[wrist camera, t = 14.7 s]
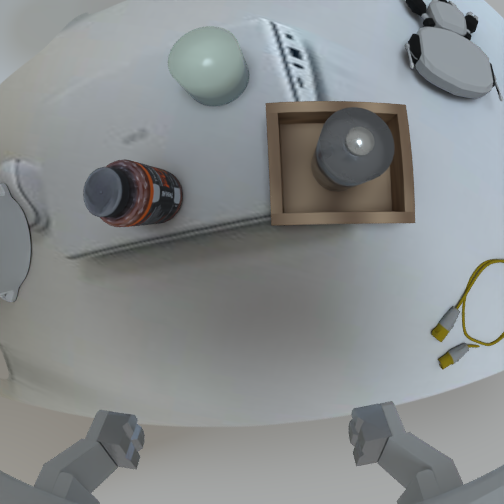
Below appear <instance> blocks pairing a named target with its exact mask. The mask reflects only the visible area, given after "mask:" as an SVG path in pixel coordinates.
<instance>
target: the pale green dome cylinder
mask: <svg viewBox="0 0 504 504" xmlns="http://www.w3.org/2000/svg"><path fill="white" fill-rule="evenodd" d="M168 68H169V71H170V73H171V75H172V76H173V78H174V79H175V80H176V81H177V82H178V83H179V84H180V85H181V86H182V87H183V88H184V89H185V90H186V91H187V92H188V93H189V94H190V95H191V96H192V97H193V98H194V99H195V100H196V101H198V102H199V103H201V104H204V105H208V106H220V105H224V104H227V103H230V102H232V101H233V100H235V99H236V98H238V97H239V96H240V95H241V94H242V93H243V91H244V90H245V88H246V86H247V84H248V80H249V71H248V68H247V65H246V62H245V60H244V57H243V54H242V51H241V49H240V46H239V44H238V41H237V39H236V38H235V36H234V35H233V34H232V33H230V32H229V31H227V30H225V29H223V28H219V27H202V28H198V29H195V30H192V31H190V32H188V33H187V34H185V35H184V36H182V37H181V38H180V39H179V40H178V41H177V42H176V43H175V45H174V46H173V47H172V49H171V51H170V54H169V57H168Z"/></svg>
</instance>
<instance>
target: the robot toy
mask: <svg viewBox="0 0 504 504" xmlns="http://www.w3.org/2000/svg"><path fill="white" fill-rule="evenodd" d="M406 3H407V5H408V6H409V7H410V9H411V10H412V12H414V13H416V14H418V15H420V16H421V17H422V18H423V20H424V21H423V25H424V26H425V27H423V28H420V29H419V31H418V32H417V34H413V35H412V36H411V38H410V40H409V41H408V43H406V44H405V49H406V50H407V52H408V56H409V61H410V68H412V69H413V67H414V64H415V67H416V69H417V71H418V72H419V74H421V75H422V76H423V77H424V78H425V79H426V80H427V81H429V82H430V83H432V84H434V85H436V86H437V87H439V88H441V89H443V90H445V91H447V92H449V93H451V94H453V95H457V96H462V97H467V98H480V97H482V96H484V95H486V94H487V93H488V92H490V91H491V89H492V87H494V86H496V89H497V92H498V95H499V99H500V101H503V98H502V96H501V93H500V91H499V88H498V85H497V82H496V77H495V75H494V72H493V69H492V65H491V63H490V62H489V58H488V57H487V55H486V54H485V53H484V52H483V51H482V50H481V48H480V47H478V46H477V45H476V44H474V43H473V42H471V41H470V39H471V35H470V34H471V33H473V32H475V30H476V27H477V24H478V17H477V16H475V15H474V16H473V15H472V14H473V13H471V12H468V13H467V14H466V15H467V16H465V17H464V15H463V13H462V12H461V11H460V10H458V8H457V7H456V5H455V4H454V3H452V2H451V1H449V2H447V1H446V0H432V2H431V3H430V4H429V6H428V8H427V10H426V5H425V3H424V2H423V0H406ZM413 63H414V64H413Z"/></svg>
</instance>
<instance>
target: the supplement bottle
mask: <svg viewBox="0 0 504 504" xmlns="http://www.w3.org/2000/svg"><path fill="white" fill-rule="evenodd" d="M83 196H84V202H85V205H86V207H87V209H88V210H89V212H91V213H92V214H93V215H95V216H98V217H100V218H101V219H102V220H103V221H104V222H106V223H107V224H109V225H111V226H115V227H129V226H139V225H148V224H158V223H163V222H166V221H168V220H170V219H171V218H172V217H173V216H174V215H175V214H176V213H177V212H178V210H179V208H180V206H181V202H182V188H181V186H180V183H179V181H178V180H177V179H176V177H175V176H174V175H172V174H171V173H169V172H168V171H165V170H163V169H159V168H155V167H151V166H148V165H145V164H141V163H137V162H133V161H130V160H118V161H115V162H113V163H110V164H109V165H107V166H106V167H102V168H98V169H96V170H95V171H93V172H92V173H91V174H90V176H89V177H88V179H87V181H86V182H85V186H84V194H83Z"/></svg>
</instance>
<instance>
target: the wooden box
mask: <svg viewBox="0 0 504 504" xmlns="http://www.w3.org/2000/svg"><path fill="white" fill-rule="evenodd" d="M349 107H358V108H363V109H367V110H369V111H371V112H373V113H375V114H376V115H378V116H379V117H380V118H381V119H382V120H383V121H384V122H385V123H386V124H387V126H388V127H389V129H390V131H391V133H392V136H393V139H394V156H393V160H392V162H391V164H390V166H389V168H388V169H387V170H386V171H385V172H384V173H383V174H382V175H380V176H379V177H377V178H375V179H373V180H370V181H368V182H365V183H362V184H360V185H357V186H355V187H352V188H350V189H347V190H344V191H338V192H337V191H330V190H327V189H325V188H324V187H322V186H321V185H320V184H319V183H318V182H317V181H316V179H315V178H314V176H313V173H312V168H311V162H312V158H313V155H314V152H315V149H316V146H317V143H318V140H319V136H320V133H321V130H322V128H323V125H324V123H325V122H326V120H327V119H328V118H329V117H330V116H331V115H332V114H334V113H335V112H337V111H339V110H341V109H344V108H349ZM266 118H267V137H268V157H269V179H270V202H271V225H307V224H359V223H415V199H414V178H413V164H412V152H411V142H410V133H409V125H408V118H407V110H406V105H401V104H389V103H373V102H347V101H305V102H278V103H266Z"/></svg>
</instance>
